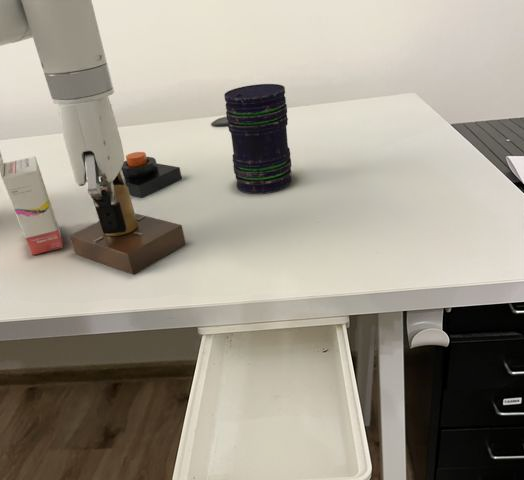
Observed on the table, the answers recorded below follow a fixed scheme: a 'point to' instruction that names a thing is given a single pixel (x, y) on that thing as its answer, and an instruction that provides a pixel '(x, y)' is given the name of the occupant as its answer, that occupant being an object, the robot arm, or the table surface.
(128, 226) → the dial
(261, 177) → the dark blue barrel
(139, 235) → the dial panel
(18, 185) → the ink cartridge box
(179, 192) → the table surface
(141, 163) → the button
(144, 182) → the button block
